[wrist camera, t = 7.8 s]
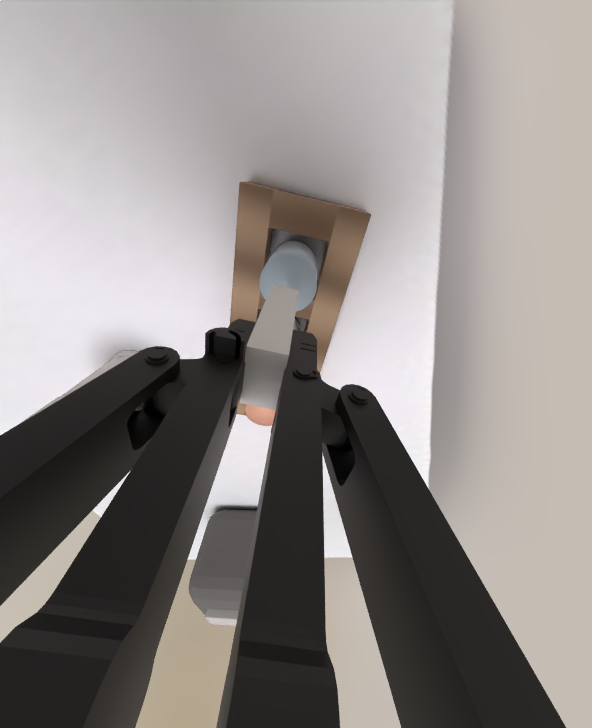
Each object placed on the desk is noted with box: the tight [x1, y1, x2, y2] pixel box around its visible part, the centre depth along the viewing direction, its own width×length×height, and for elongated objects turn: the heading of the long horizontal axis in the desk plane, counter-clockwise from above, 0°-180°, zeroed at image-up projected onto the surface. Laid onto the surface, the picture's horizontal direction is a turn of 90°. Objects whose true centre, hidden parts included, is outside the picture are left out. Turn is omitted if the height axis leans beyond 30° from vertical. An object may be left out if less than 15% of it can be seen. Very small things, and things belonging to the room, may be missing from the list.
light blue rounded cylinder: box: [260, 241, 317, 312], centre depth 21 cm, size 4×4×5 cm
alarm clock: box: [189, 509, 257, 626], centre depth 48 cm, size 16×11×16 cm
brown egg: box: [245, 404, 276, 426], centre depth 30 cm, size 4×4×5 cm
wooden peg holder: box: [230, 182, 371, 415], centre depth 28 cm, size 24×10×3 cm, turn 168°
